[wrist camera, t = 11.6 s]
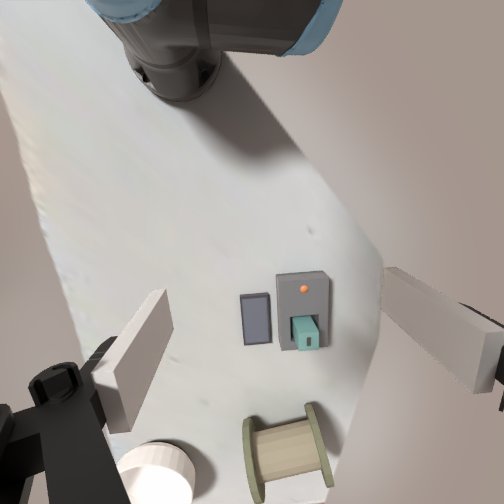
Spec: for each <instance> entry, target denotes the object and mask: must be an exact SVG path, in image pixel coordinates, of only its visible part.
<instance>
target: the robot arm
mask: <svg viewBox="0 0 504 504" xmlns="http://www.w3.org/2000/svg"><path fill="white" fill-rule="evenodd" d="M85 1H86V2H87V3H88V4H89V5H90V7H91V8H92V9H93V10H94V11H95V12H96V13H97V14H98V15H99V16H100V17H101V19H102V20H103V21H104V22H105V23H106V24H107V25H108V26H109V28H110V29H111V30H112V31H113V32H114V33H115V34H116V36H117V37H118V38H119V39H120V40H121V41H122V42H123V45H124V50H125V53H126V57H127V59H128V62H129V64H130V66H131V68H132V69H133V71H134V73H135V74H136V76H137V77H138V78H139V79H140V81H141V82H142V83H143V84H144V85H145V86H146V87H147V88H148V89H149V90H151V91H152V92H153V93H155V94H156V95H158V96H160V97H162V98H164V99H167V100H171V101H188V100H192V99H195V98H197V97H199V96H200V95H202V94H203V93H204V92H206V91H207V90H208V89H209V87H210V86H211V85H212V84H213V82H214V80H215V78H216V76H217V74H218V71H219V68H220V63H221V51H233V52H244V53H256V54H257V53H258V54H268V55H275V56H277V57H282V56H284V57H285V56H287V55H306V54H309V53H311V52H313V51H314V50H315V49H317V47H319V45H321V43H322V42H323V41H324V39H325V38H326V36H327V35H328V33H329V31H330V29H331V27H332V25H333V23H334V21H335V19H336V16H337V15H338V12H339V10H340V7H341V5H342V2H343V0H85ZM381 310H383V311H384V312H385V313H386V314H387V315H388V316H389V317H390V318H391V319H392V320H393V321H394V322H396V323H397V324H398V325H399V326H400V327H401V328H402V329H403V330H404V331H405V332H406V333H407V334H408V335H410V336H411V337H412V338H413V339H414V340H415V341H416V342H417V343H418V344H419V345H420V346H422V348H424V349H425V350H426V351H427V352H428V353H429V354H430V355H431V356H432V357H433V358H434V359H436V360H437V361H438V362H439V363H440V364H441V365H442V366H443V367H444V368H445V369H446V370H447V371H448V372H450V373H451V374H452V375H453V376H454V377H455V378H456V379H457V380H458V381H459V382H460V383H461V384H462V385H464V386H465V387H466V388H467V389H468V390H469V391H470V392H471V393H472V394H479V393H487V392H492V390H493V386H494V381H495V379H496V380H498V381H499V382H500V383H501V384H503V385H504V325H502V324H500V323H499V322H497V321H495V320H493V319H490V318H489V317H488V316H486V315H484V314H481V312H479V311H477V310H475V309H474V308H472V307H470V306H467V305H464V304H462V303H459V302H456V301H454V300H453V299H451V298H449V297H447V296H446V295H444V294H442V293H441V292H439V291H437V290H435V289H433V288H432V287H430V286H428V285H426V284H425V283H423V282H421V281H420V280H418V279H416V278H414V277H413V276H411V275H409V274H407V273H405V272H404V271H402V270H400V269H399V268H397V267H391V268H384V269H383V283H382V296H381ZM173 330H174V328H173V322H172V317H171V312H170V307H169V302H168V297H167V292H166V289H157V290H152V292H151V293H150V294H149V296H148V297H147V298H146V300H145V301H144V302H143V304H142V305H141V306H140V308H139V309H138V310H137V312H136V313H135V314H134V316H133V317H132V318H131V320H130V321H129V323H128V324H127V325H126V327H125V328H124V329H123V331H122V332H121V333H120V335H119V336H114V337H110V338H109V339H107V340H106V341H105V342H103V343H102V344H101V345H100V346H99V347H98V348H97V350H96V351H95V352H94V354H93V355H92V356H91V357H90V358H89V361H87V362H86V363H85V364H84V366H83V367H82V368H81V369H80V370H79V369H78V366H77V365H76V364H75V363H74V362H65V363H59V364H57V365H54V366H51V367H49V368H47V369H46V370H44V371H42V372H41V373H39V374H38V375H37V376H35V377H34V378H33V379H32V381H31V382H30V383H29V387H28V389H29V391H30V393H31V396H32V398H33V401H34V403H35V407H31V408H28V409H25V410H22V411H19V412H16V413H12V411H11V409H10V406H8V405H7V404H0V504H28V500H29V495H30V491H31V487H32V483H33V478H34V475H35V474H38V473H41V472H43V471H45V474H46V482H47V490H48V497H49V504H131V502H130V499H129V497H128V494H127V492H126V489H125V487H124V484H123V482H122V479H121V477H120V474H119V472H118V469H117V467H116V464H115V462H114V459H113V457H112V454H111V452H110V449H109V447H108V444H107V442H106V439H105V437H104V434H103V432H102V429H103V427H104V425H105V423H106V424H107V427H108V430H109V433H110V434H114V433H123V432H131V430H132V427H133V425H134V423H135V420H136V418H137V415H138V413H139V411H140V408H141V406H142V404H143V401H144V399H145V396H146V394H147V392H148V389H149V387H150V384H151V382H152V380H153V377H154V375H155V373H156V370H157V368H158V365H159V363H160V361H161V358H162V356H163V353H164V351H165V349H166V346H167V344H168V342H169V339H170V337H171V334H172V332H173ZM503 410H504V392H503V396H502V399H501V403H500V407H499V411H502V412H503Z"/></svg>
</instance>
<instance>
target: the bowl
mask: <svg viewBox="0 0 504 504" xmlns="http://www.w3.org/2000/svg"><path fill="white" fill-rule="evenodd" d="M116 467H117V469H118V472H119V474H120V477H121V479H122V482H123V484H124V487H125V489H126V492H127V494H128V497H129V499H130V502H131V504H191V503H192V500H193V494H194V486H195V469H194V466H193V464H192V462H191V461H190V459H189V458H188V456H187V455H186V454H185V453H184V452H183V451H182V450H181V449H179V448H178V447H176V446H173V445H171V444H168V443H162V442H153V443H147V444H143V445H140V446H138V447H136V448H135V449H133V450H132V451H130V452H128V453H127V454H125V455H124V456H123V457H122V458H121V459H120V461H119V462H118V464H117V466H116Z"/></svg>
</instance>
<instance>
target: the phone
mask: <svg viewBox="0 0 504 504" xmlns="http://www.w3.org/2000/svg"><path fill="white" fill-rule="evenodd" d="M240 304H241V316H242V327H243V338H244V345H255V344H266V343H271V340H270V321H269V303H268V293H256V294H244V295H240Z"/></svg>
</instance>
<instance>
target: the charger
mask: <svg viewBox="0 0 504 504" xmlns="http://www.w3.org/2000/svg"><path fill="white" fill-rule="evenodd" d="M291 329H292V333H293V336H294V339H295V342H296V345H297V348H298V350H299V351H305V350H315V349H319V331H318V329H317V327H316V325H315V323H314V322H313V320H312V318H311V316H310V315H305V316H294V317H291Z"/></svg>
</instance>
